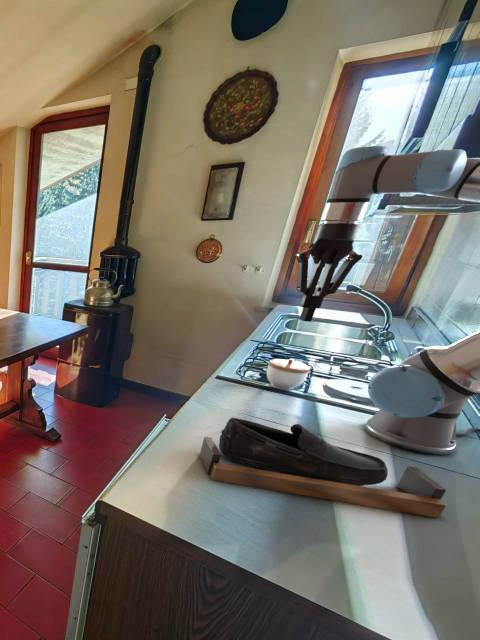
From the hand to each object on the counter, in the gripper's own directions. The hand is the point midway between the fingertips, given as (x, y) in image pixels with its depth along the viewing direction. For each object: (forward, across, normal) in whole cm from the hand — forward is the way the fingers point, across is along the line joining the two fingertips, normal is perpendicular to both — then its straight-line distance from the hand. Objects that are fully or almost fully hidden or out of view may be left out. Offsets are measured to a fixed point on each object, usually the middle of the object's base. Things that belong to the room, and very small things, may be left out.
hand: (305, 320), depth 102 cm
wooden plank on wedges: (+26, +7, +38) cm, 47 cm away
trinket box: (+27, -10, -22) cm, 36 cm away
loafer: (+27, +8, +33) cm, 43 cm away
